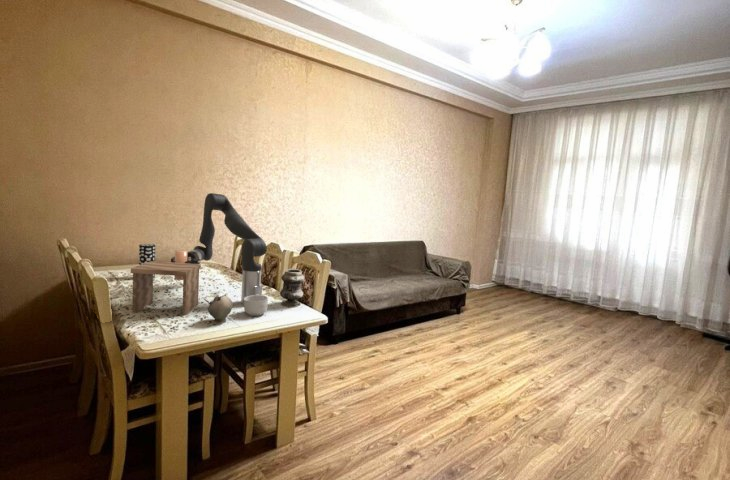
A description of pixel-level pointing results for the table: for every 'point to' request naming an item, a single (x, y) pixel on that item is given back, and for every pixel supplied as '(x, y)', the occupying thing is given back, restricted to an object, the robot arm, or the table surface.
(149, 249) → the spotted tube
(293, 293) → the dark mottled vase
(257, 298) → the teacup
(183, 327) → the table surface
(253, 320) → the table surface
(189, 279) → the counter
